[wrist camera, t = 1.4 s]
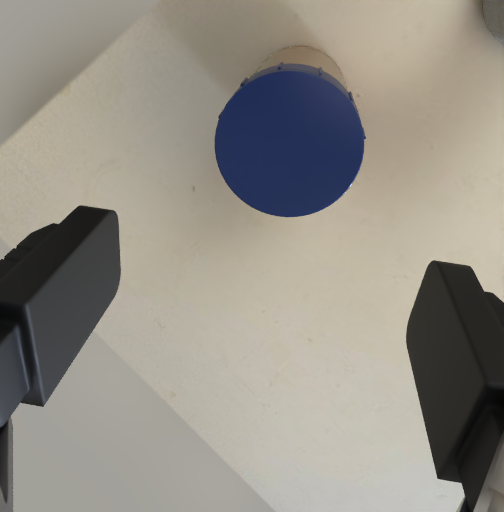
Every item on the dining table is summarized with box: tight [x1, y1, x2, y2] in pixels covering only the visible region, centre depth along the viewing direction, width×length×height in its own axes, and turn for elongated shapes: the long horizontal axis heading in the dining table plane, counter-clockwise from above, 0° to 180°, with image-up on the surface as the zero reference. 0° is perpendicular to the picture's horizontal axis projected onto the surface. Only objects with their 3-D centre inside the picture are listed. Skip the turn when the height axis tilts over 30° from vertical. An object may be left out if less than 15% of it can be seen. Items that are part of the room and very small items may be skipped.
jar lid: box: [215, 62, 366, 217], centre depth 19 cm, size 6×6×2 cm
